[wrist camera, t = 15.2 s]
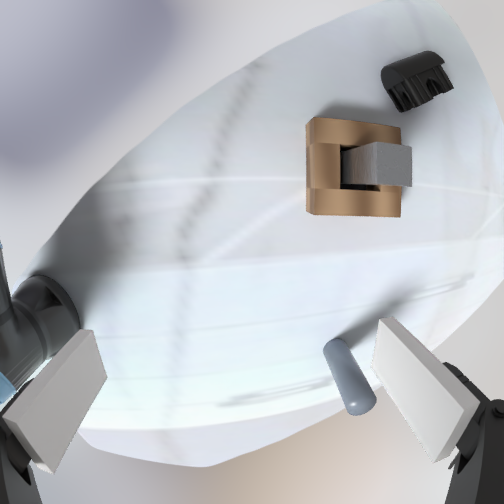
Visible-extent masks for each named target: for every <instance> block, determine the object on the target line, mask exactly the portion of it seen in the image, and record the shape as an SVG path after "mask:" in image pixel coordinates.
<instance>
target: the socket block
mask: <svg viewBox="0 0 504 504" xmlns="http://www.w3.org/2000/svg"><path fill="white" fill-rule="evenodd" d="M373 142H384V143H391V144H398V145H401V130H400V128H399V127H393V126H387V125H381V124H374V123H367V122H359V121H351V120H341V119H331V118H319V117H313V118H312V119H311V120H310V121H309V122H308V123H307V124H306V211H307V212H309V213H311V214H313V215H339V216H375V217H400V216H401V190H402V186H386V185H366V190H348V189H340V150H351V149H354V148H357V147H360V146H364V145H367V144H370V143H373Z"/></svg>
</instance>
